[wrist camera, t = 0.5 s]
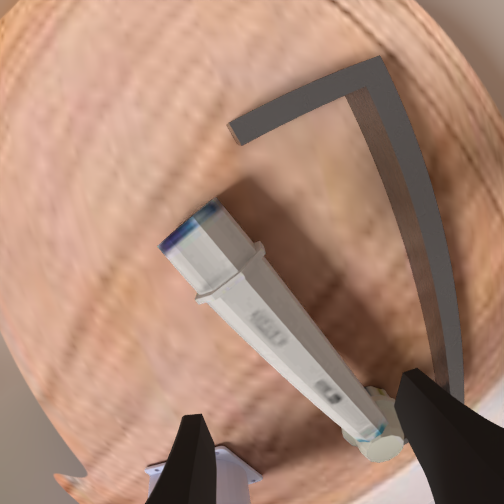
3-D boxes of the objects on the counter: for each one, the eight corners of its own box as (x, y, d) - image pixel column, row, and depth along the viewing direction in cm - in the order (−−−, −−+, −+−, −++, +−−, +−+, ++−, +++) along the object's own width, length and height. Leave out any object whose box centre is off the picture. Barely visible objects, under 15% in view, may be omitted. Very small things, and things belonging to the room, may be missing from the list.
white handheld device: (223, 190, 14) (429, 453, 19) (229, 183, 20) (401, 406, 26) (138, 263, 15) (375, 487, 20) (168, 235, 21) (355, 436, 26)
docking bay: (382, 430, 28) (393, 451, 25) (226, 124, 16) (228, 122, 14) (450, 387, 27) (464, 405, 24) (356, 64, 16) (379, 55, 13)
